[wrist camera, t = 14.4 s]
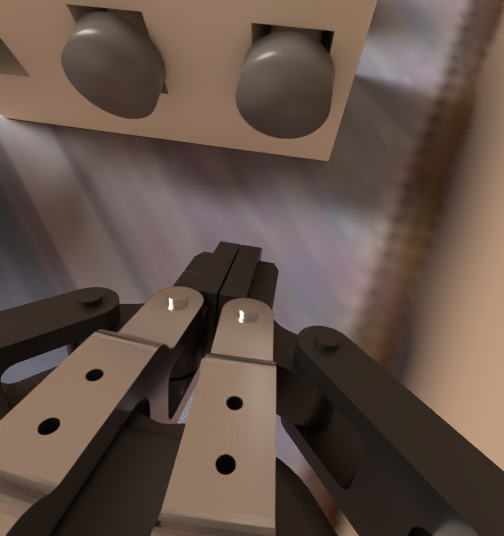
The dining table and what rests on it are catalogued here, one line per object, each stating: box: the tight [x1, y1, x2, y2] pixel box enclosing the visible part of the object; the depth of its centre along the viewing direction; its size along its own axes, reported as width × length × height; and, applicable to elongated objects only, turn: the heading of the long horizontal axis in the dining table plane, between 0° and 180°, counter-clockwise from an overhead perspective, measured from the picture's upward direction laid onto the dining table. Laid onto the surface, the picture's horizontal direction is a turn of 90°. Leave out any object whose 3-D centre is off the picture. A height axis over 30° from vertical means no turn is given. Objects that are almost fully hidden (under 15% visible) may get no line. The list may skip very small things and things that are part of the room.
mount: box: [0, 0, 378, 161], centre depth 21 cm, size 9×26×12 cm, turn 79°
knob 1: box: [61, 8, 166, 119], centre depth 20 cm, size 9×5×5 cm, turn 169°
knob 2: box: [235, 25, 335, 139], centre depth 19 cm, size 9×5×5 cm, turn 169°
